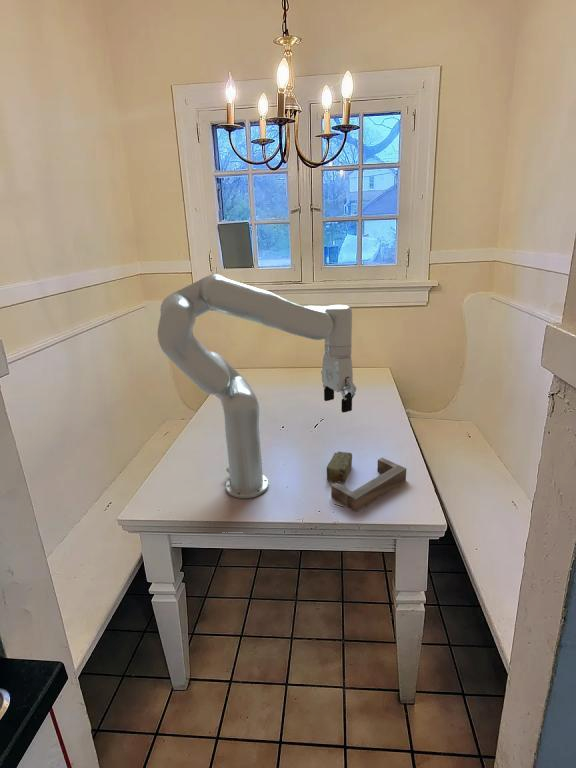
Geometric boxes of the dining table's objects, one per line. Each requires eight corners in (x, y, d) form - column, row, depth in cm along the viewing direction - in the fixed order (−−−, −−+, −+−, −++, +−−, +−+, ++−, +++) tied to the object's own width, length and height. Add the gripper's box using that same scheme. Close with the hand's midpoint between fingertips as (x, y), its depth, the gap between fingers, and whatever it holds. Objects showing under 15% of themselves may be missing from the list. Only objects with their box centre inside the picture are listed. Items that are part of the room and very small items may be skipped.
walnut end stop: (331, 497, 127) (331, 485, 126) (381, 468, 140) (381, 457, 139) (355, 511, 121) (355, 499, 119) (405, 480, 134) (406, 468, 132)
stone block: (352, 465, 143) (353, 451, 141) (344, 485, 133) (344, 470, 131) (335, 463, 145) (334, 449, 143) (325, 482, 135) (325, 468, 133)
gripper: (311, 344, 133) (312, 398, 139) (343, 359, 119) (342, 419, 125) (333, 341, 136) (333, 393, 142) (367, 355, 122) (365, 413, 128)
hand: (337, 405), depth 133 cm, fingers open, 9 cm apart
